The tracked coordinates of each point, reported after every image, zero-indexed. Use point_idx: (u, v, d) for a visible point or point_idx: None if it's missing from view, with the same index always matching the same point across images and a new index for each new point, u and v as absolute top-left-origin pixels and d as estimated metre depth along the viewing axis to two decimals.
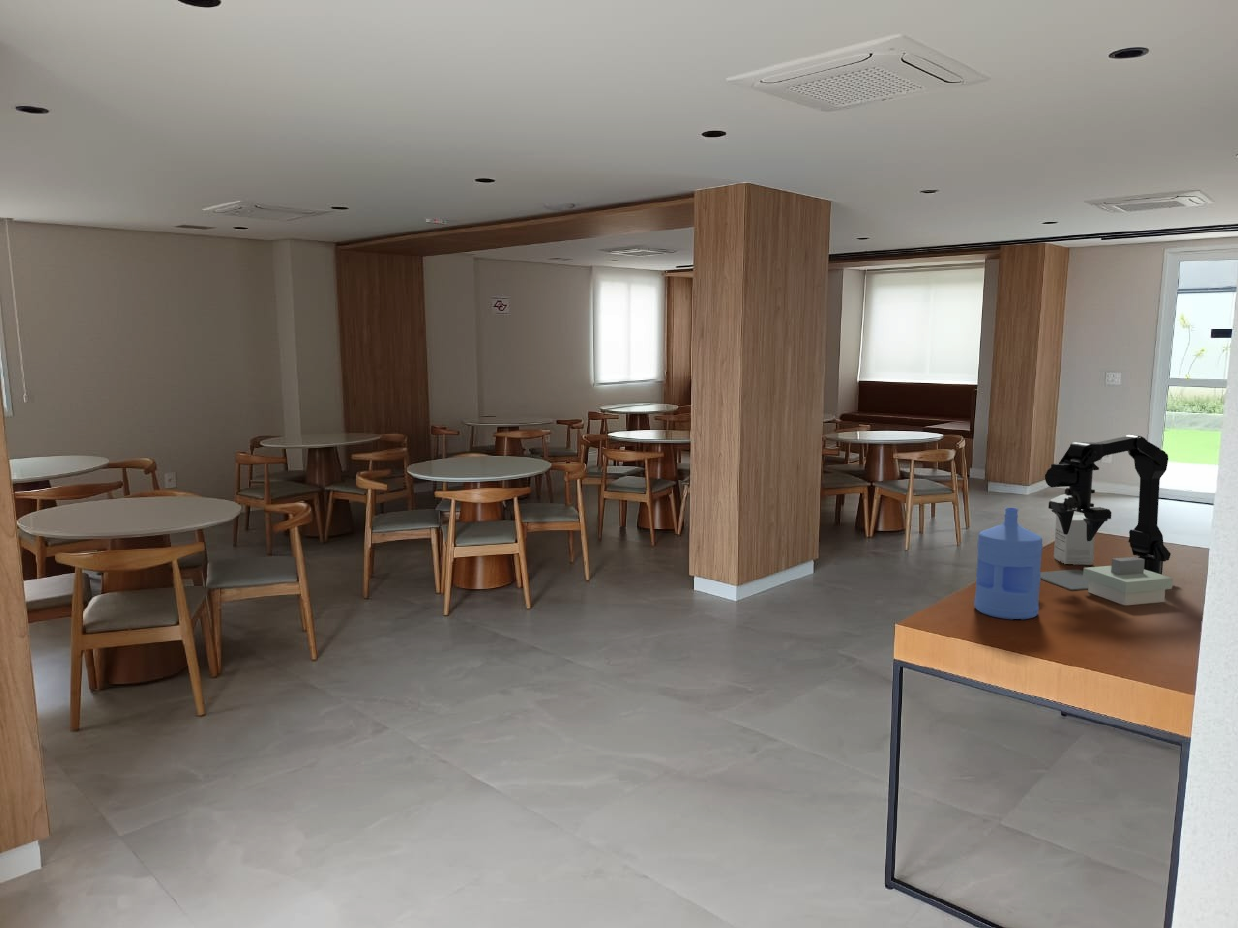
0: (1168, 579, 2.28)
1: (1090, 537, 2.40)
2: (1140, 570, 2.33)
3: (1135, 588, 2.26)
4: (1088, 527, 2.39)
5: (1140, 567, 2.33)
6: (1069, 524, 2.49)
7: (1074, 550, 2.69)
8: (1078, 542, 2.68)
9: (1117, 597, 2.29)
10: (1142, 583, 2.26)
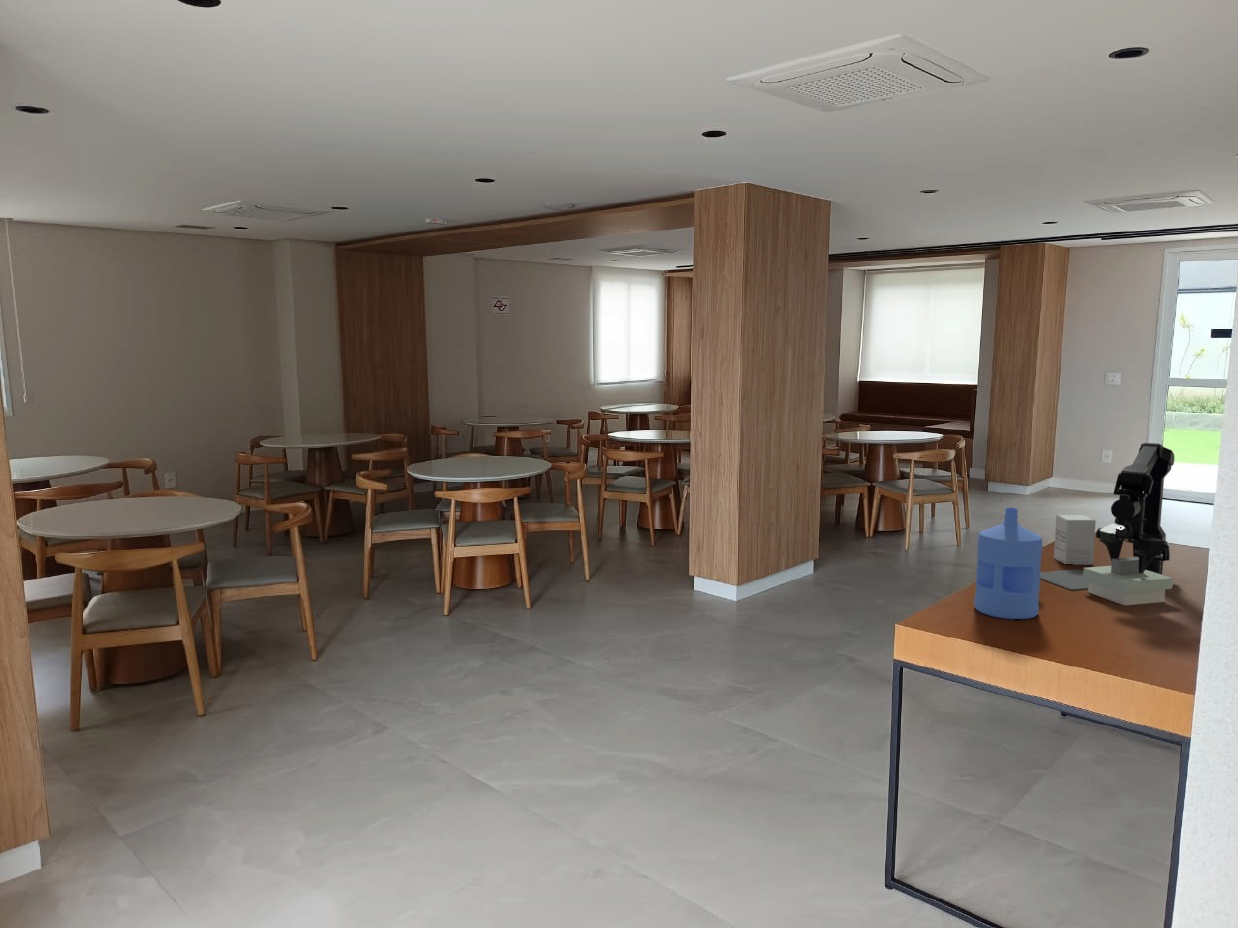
0: (1168, 579, 2.28)
1: (1142, 569, 2.29)
2: None
3: (1135, 588, 2.26)
4: (1141, 559, 2.28)
5: None
6: (1118, 554, 2.38)
7: (1074, 550, 2.69)
8: (1078, 542, 2.68)
9: (1117, 597, 2.29)
10: (1142, 583, 2.26)
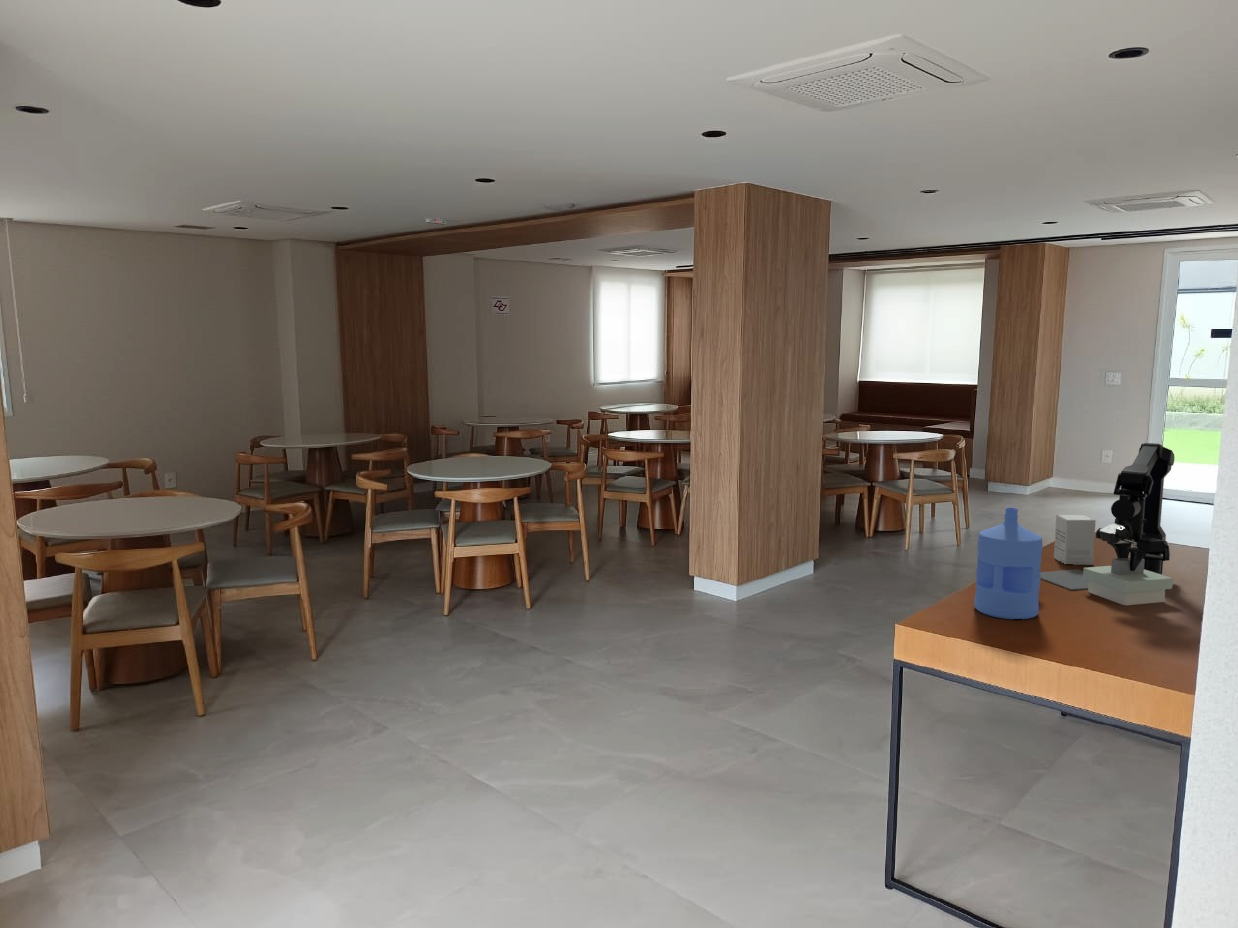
0: (1168, 579, 2.28)
1: (1134, 567, 2.31)
2: (1140, 570, 2.33)
3: (1135, 588, 2.26)
4: (1132, 556, 2.30)
5: (1140, 567, 2.33)
6: (1126, 557, 2.35)
7: (1074, 550, 2.69)
8: (1078, 542, 2.68)
9: (1117, 597, 2.29)
10: (1142, 583, 2.26)
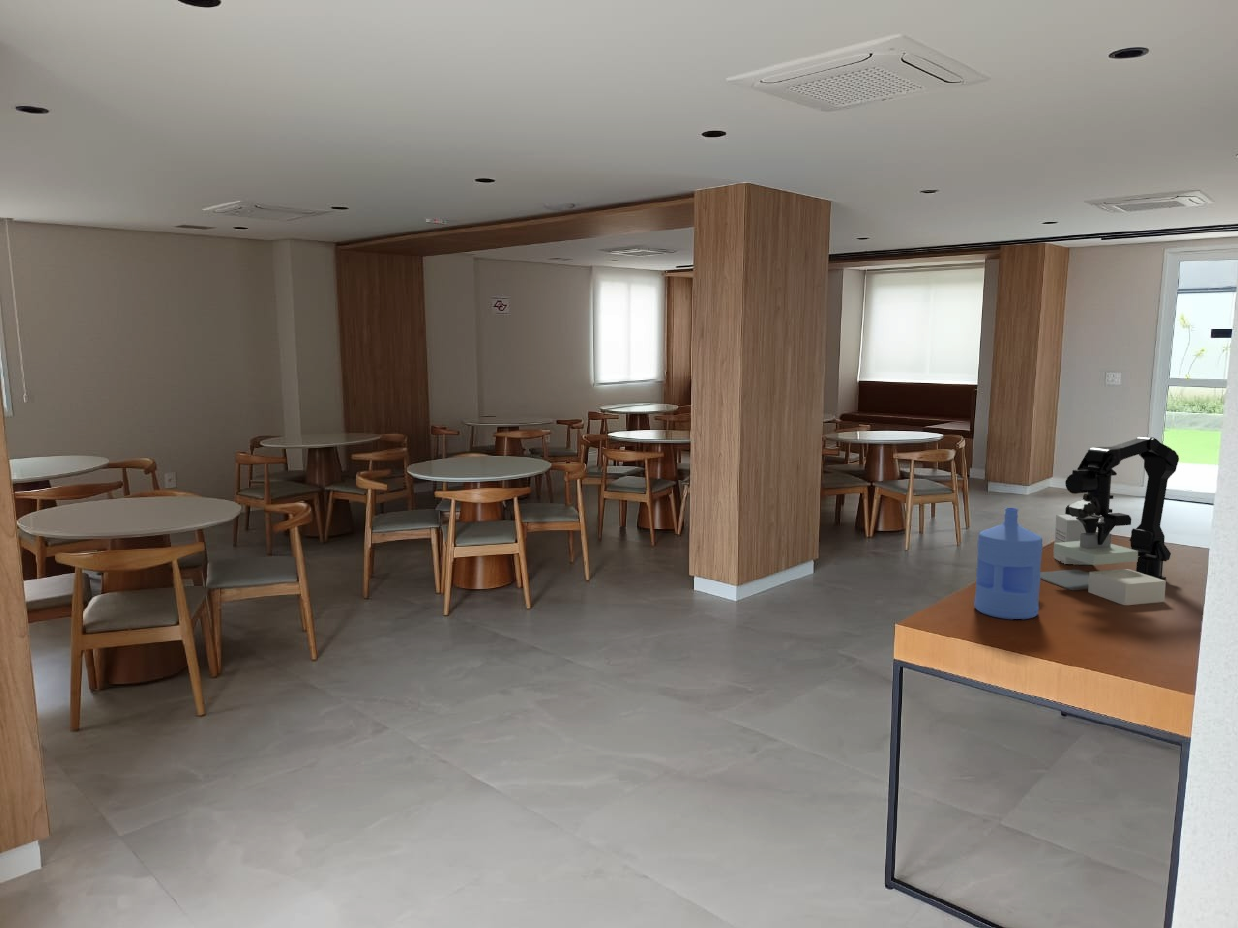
0: (1133, 552, 2.38)
1: (1101, 541, 2.42)
2: (1107, 544, 2.43)
3: (1102, 561, 2.36)
4: (1099, 531, 2.41)
5: (1107, 541, 2.43)
6: None
7: None
8: None
9: (1117, 597, 2.29)
10: (1109, 556, 2.36)
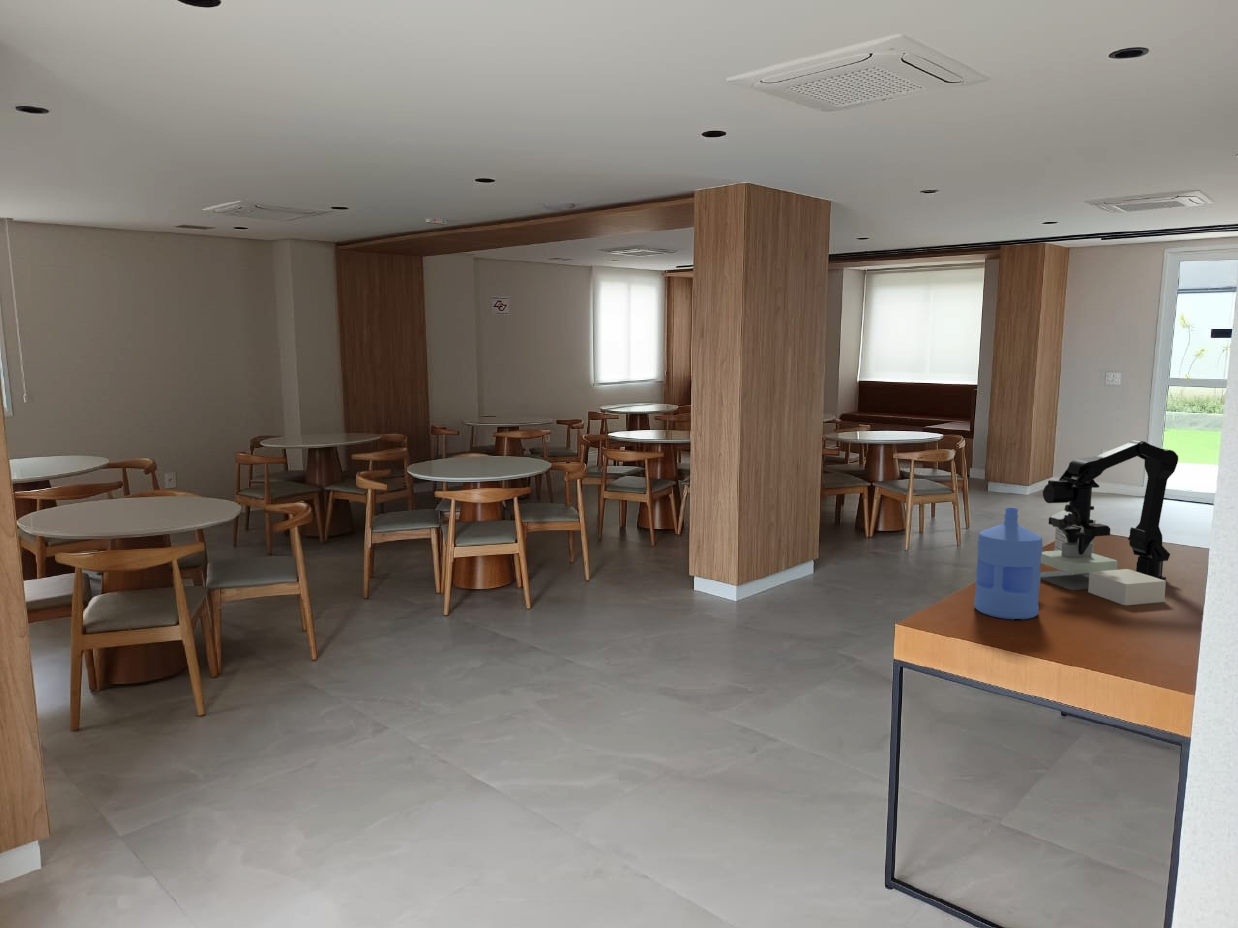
0: (1113, 562, 2.45)
1: (1082, 550, 2.49)
2: (1088, 554, 2.50)
3: (1082, 570, 2.43)
4: (1080, 541, 2.47)
5: (1088, 551, 2.50)
6: None
7: None
8: None
9: (1117, 597, 2.29)
10: (1088, 565, 2.43)
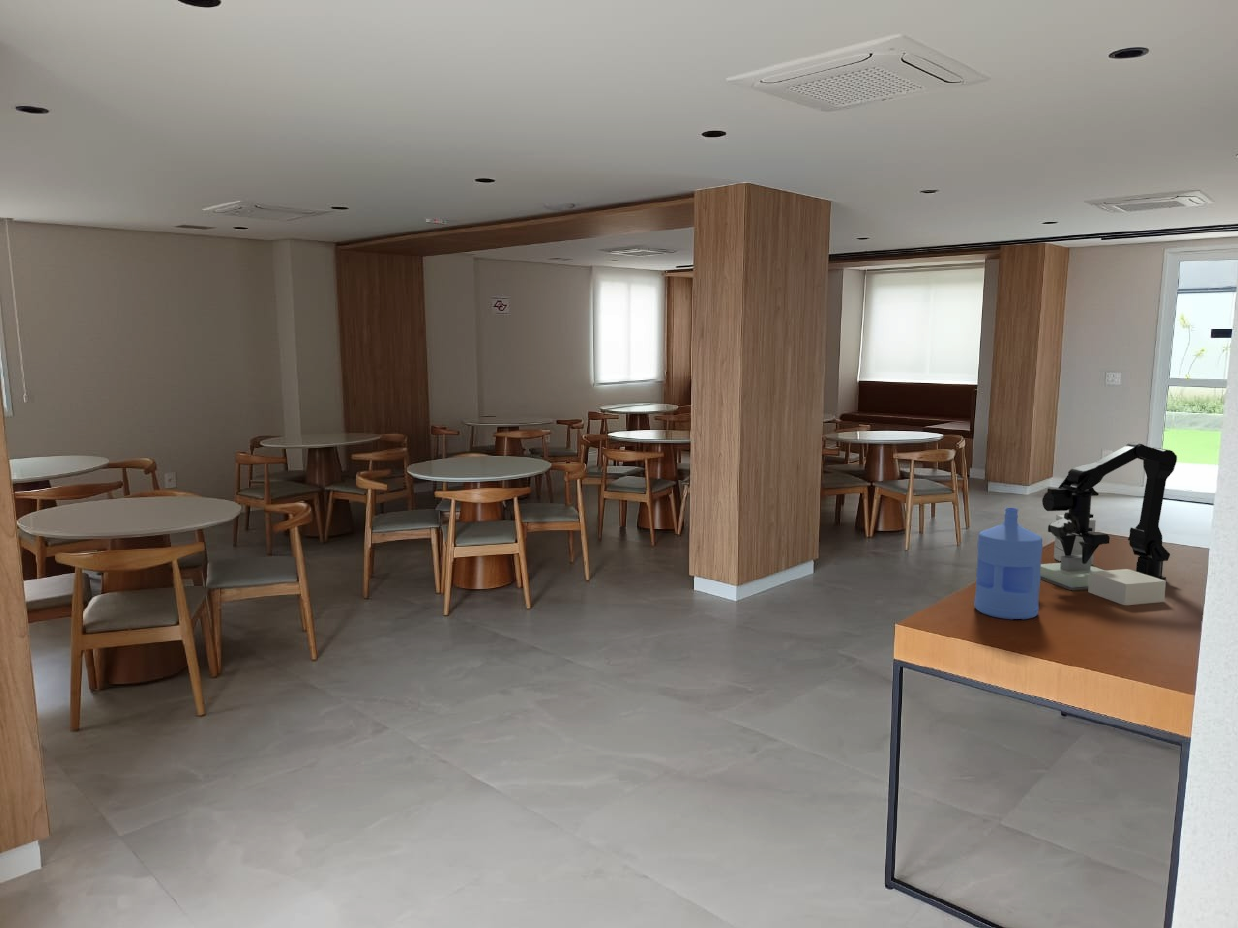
0: None
1: (1085, 560, 2.47)
2: (1087, 567, 2.51)
3: (1081, 583, 2.44)
4: (1084, 550, 2.46)
5: (1087, 564, 2.50)
6: (1071, 548, 2.54)
7: (1074, 550, 2.69)
8: (1078, 542, 2.68)
9: (1117, 597, 2.29)
10: (1087, 579, 2.44)
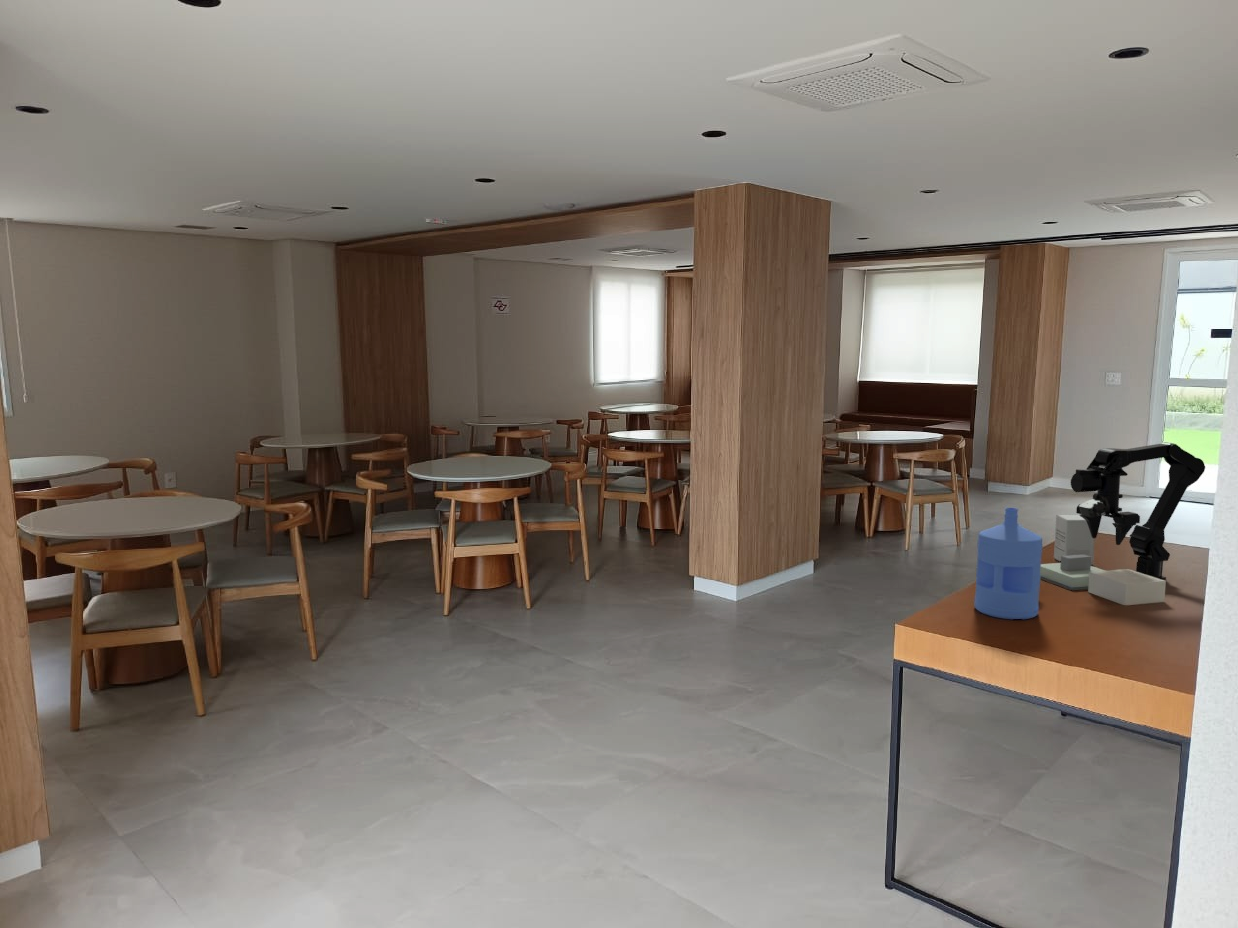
0: None
1: (1119, 541, 2.46)
2: (1087, 567, 2.51)
3: (1081, 583, 2.44)
4: (1117, 531, 2.45)
5: (1087, 564, 2.50)
6: (1097, 528, 2.56)
7: (1074, 550, 2.69)
8: (1078, 542, 2.68)
9: (1117, 597, 2.29)
10: (1087, 579, 2.44)
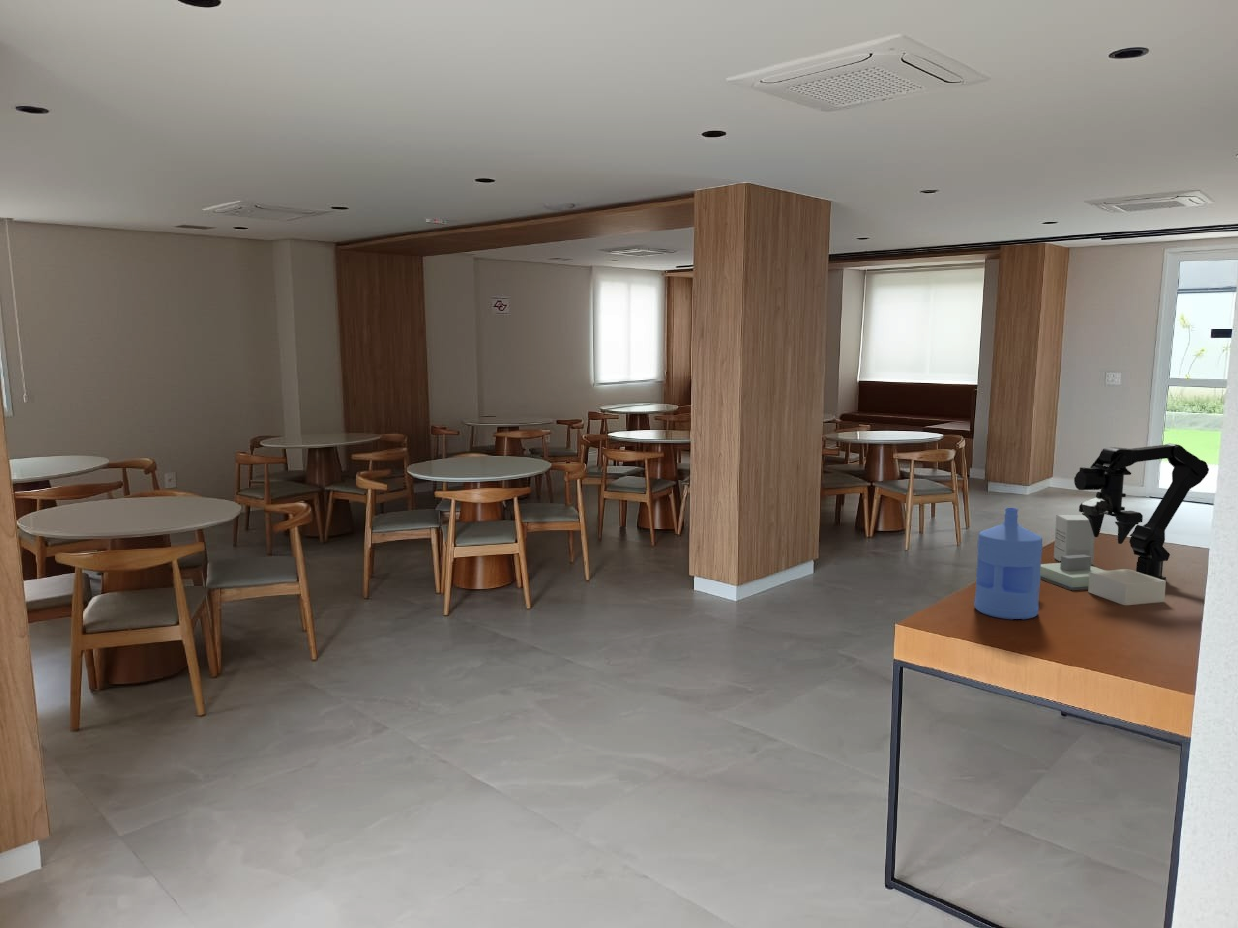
0: None
1: (1121, 540, 2.46)
2: (1087, 567, 2.51)
3: (1081, 583, 2.44)
4: (1119, 530, 2.45)
5: (1087, 564, 2.50)
6: (1099, 527, 2.56)
7: (1074, 550, 2.69)
8: (1078, 542, 2.68)
9: (1117, 597, 2.29)
10: (1087, 579, 2.44)
